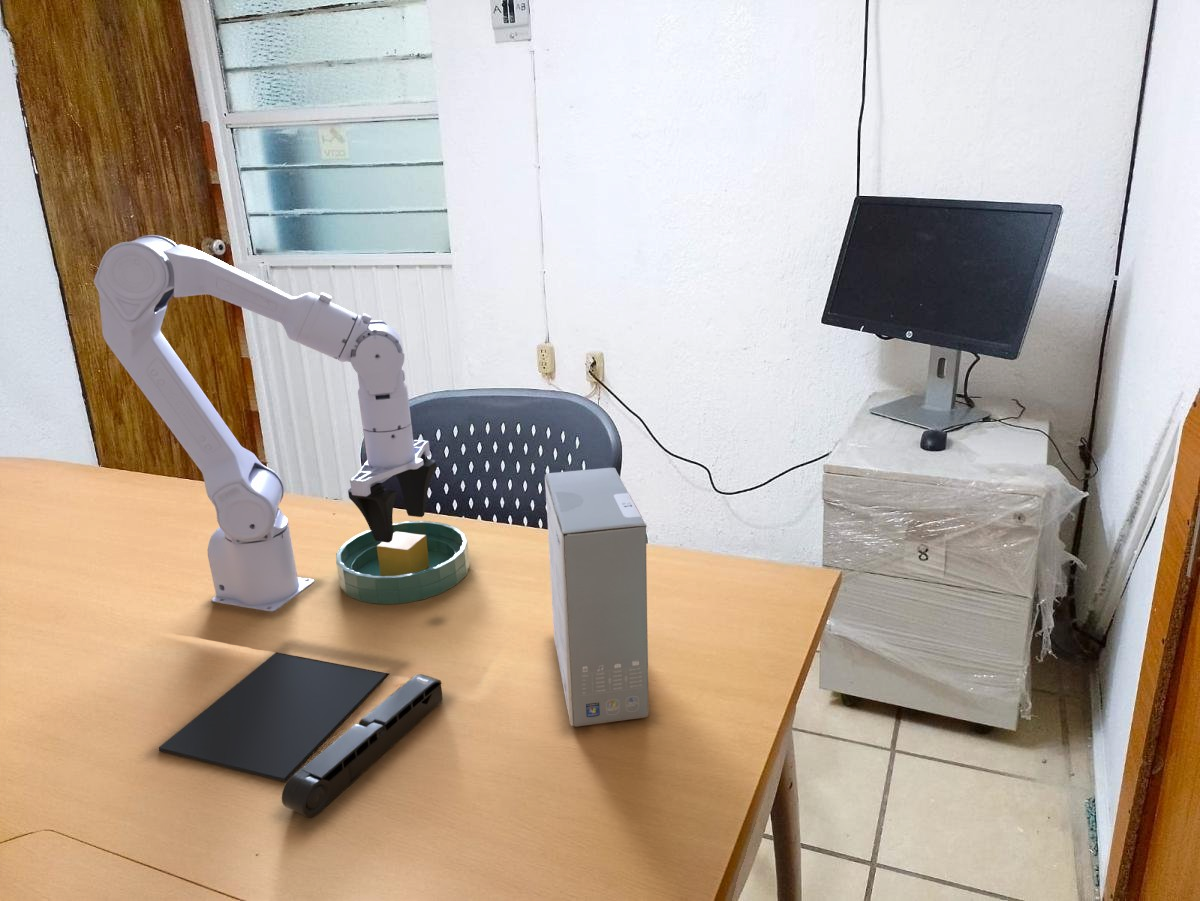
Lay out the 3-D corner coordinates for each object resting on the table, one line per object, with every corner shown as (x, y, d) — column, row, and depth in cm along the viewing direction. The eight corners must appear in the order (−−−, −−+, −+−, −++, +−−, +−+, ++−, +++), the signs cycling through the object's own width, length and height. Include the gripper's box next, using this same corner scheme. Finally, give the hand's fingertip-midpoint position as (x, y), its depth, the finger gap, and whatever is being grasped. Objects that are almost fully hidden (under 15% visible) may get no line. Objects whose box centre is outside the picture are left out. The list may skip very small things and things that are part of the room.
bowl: (313, 597, 102) (308, 568, 101) (386, 541, 116) (382, 515, 115) (429, 616, 97) (425, 585, 95) (490, 555, 111) (488, 528, 110)
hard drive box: (651, 719, 78) (648, 526, 71) (570, 731, 76) (559, 535, 70) (620, 632, 92) (615, 464, 85) (552, 640, 91) (541, 471, 84)
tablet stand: (306, 825, 67) (301, 795, 66) (284, 815, 68) (278, 785, 67) (445, 700, 81) (442, 675, 80) (425, 694, 83) (421, 668, 82)
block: (380, 577, 105) (376, 545, 104) (399, 562, 109) (395, 531, 108) (411, 582, 104) (407, 550, 102) (429, 566, 108) (426, 534, 106)
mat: (158, 751, 76) (158, 747, 76) (288, 645, 92) (287, 642, 92) (284, 782, 71) (284, 778, 71) (397, 665, 87) (397, 662, 87)
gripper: (382, 446, 92) (396, 556, 96) (446, 409, 105) (456, 508, 109) (328, 442, 94) (345, 549, 99) (397, 406, 107) (409, 503, 112)
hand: (400, 527), depth 104 cm, fingers open, 7 cm apart
